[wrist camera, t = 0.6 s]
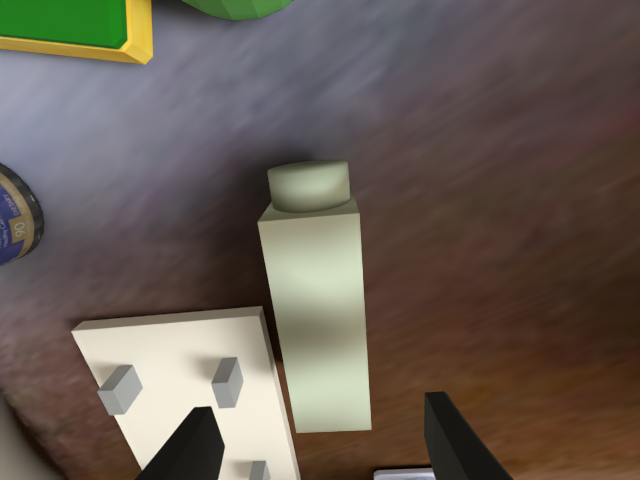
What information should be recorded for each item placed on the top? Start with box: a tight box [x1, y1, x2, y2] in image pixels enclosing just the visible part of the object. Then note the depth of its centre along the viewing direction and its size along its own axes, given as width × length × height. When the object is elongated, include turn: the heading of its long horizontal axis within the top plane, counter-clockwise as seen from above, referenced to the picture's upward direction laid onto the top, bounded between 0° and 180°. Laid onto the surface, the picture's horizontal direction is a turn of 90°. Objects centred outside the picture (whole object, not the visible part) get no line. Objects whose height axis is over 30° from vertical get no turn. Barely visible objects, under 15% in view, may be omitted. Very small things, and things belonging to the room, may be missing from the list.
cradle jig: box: [71, 306, 301, 480], centre depth 22 cm, size 18×12×3 cm, turn 7°
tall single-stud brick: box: [258, 160, 371, 433], centre depth 16 cm, size 14×4×5 cm, turn 6°
